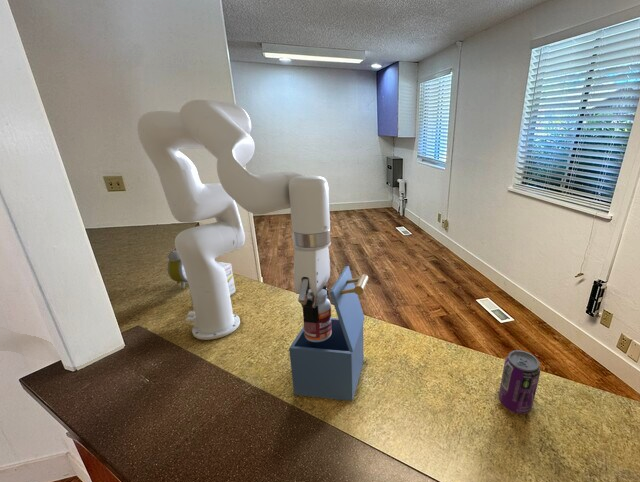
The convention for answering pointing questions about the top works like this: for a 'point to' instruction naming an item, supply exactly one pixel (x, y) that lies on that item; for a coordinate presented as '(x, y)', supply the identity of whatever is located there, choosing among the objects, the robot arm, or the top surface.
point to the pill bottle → (320, 319)
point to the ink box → (229, 276)
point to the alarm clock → (176, 268)
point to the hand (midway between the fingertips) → (316, 312)
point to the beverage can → (519, 381)
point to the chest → (326, 365)
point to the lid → (349, 305)
